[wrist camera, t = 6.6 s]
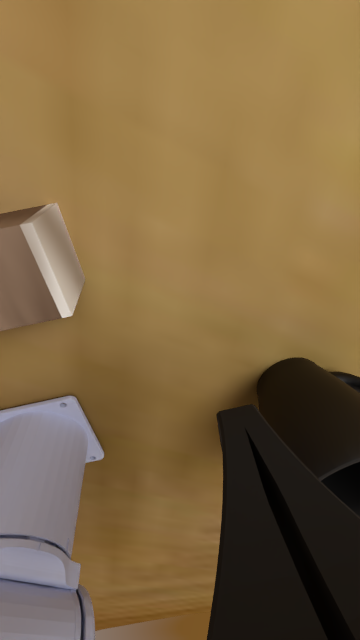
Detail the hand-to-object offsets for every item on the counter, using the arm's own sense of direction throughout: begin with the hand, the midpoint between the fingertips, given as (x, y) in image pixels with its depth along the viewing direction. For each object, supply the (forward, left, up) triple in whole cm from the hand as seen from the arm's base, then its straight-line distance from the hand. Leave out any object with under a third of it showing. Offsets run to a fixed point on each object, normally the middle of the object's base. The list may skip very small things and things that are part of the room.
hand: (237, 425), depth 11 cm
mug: (+9, -10, -11) cm, 17 cm away
